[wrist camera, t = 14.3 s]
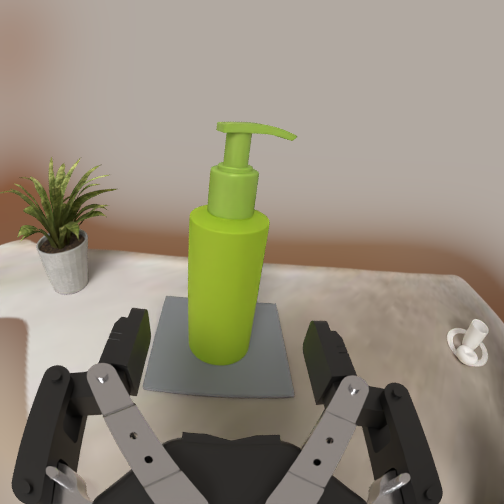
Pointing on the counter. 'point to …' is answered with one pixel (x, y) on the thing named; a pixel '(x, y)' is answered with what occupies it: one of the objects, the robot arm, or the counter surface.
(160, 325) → the rubber mat
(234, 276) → the soap dispenser
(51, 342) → the counter surface
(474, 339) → the white baby pacifier
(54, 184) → the house plant
